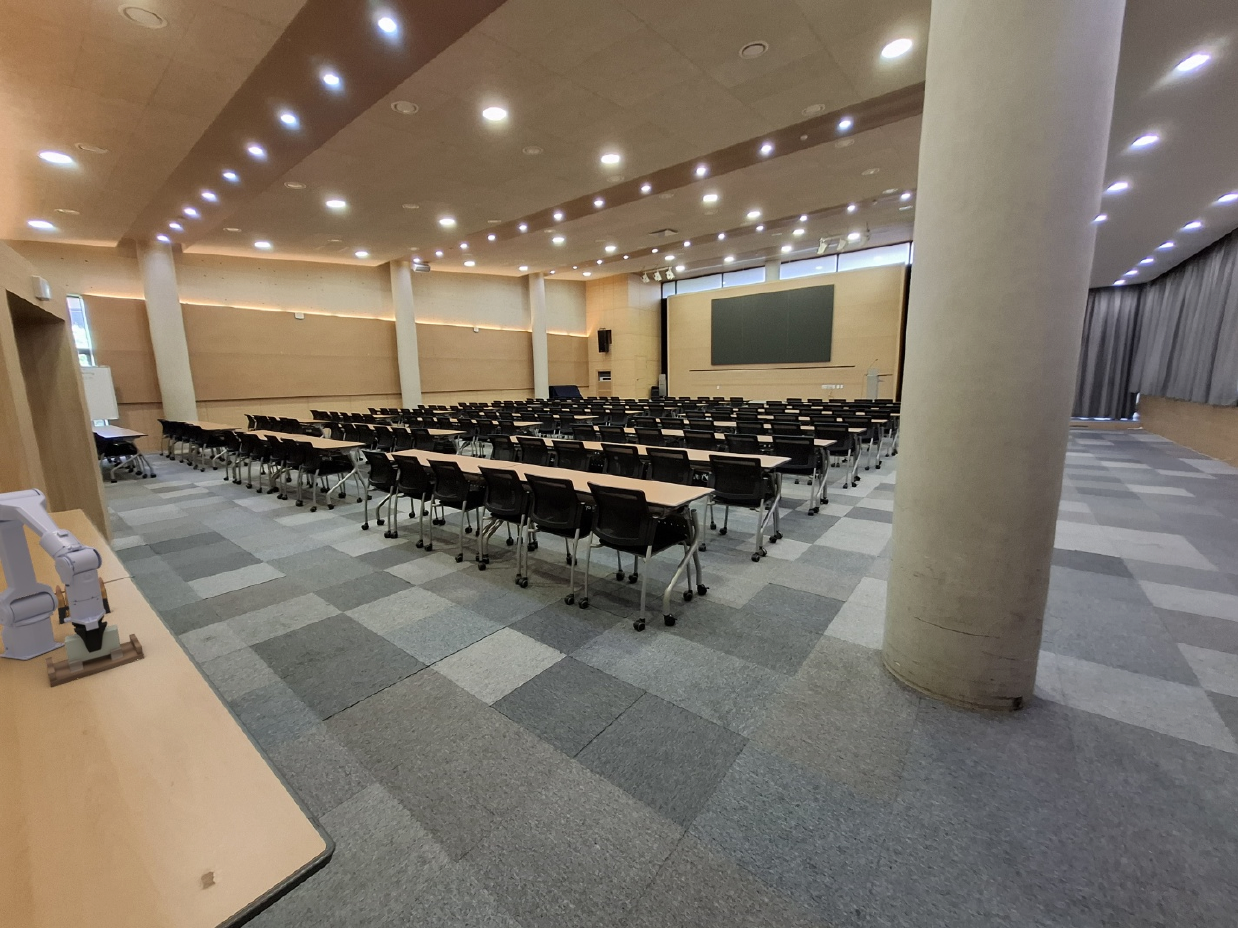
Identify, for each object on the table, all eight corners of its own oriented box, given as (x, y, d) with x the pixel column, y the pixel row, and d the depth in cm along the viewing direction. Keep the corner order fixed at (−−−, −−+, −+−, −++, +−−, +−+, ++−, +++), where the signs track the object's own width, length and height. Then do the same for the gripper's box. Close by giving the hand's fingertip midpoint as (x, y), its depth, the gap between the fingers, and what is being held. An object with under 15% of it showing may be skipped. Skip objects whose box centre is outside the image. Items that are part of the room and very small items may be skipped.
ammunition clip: (59, 624, 147) (52, 586, 145) (60, 622, 149) (52, 584, 147) (110, 612, 155) (104, 576, 153) (110, 611, 156) (104, 575, 154)
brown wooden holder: (47, 669, 123) (45, 656, 122) (135, 643, 135) (133, 631, 135) (51, 687, 116) (48, 673, 115) (144, 658, 128) (142, 645, 128)
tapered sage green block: (69, 658, 123) (65, 636, 122) (120, 645, 130) (116, 624, 129) (68, 664, 121) (64, 642, 120) (120, 650, 127) (116, 629, 126)
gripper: (58, 595, 124) (67, 645, 126) (63, 610, 115) (73, 664, 117) (98, 586, 130) (106, 634, 132) (106, 600, 121) (115, 651, 123)
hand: (93, 647), depth 125 cm, fingers closed on tapered sage green block, 4 cm apart
